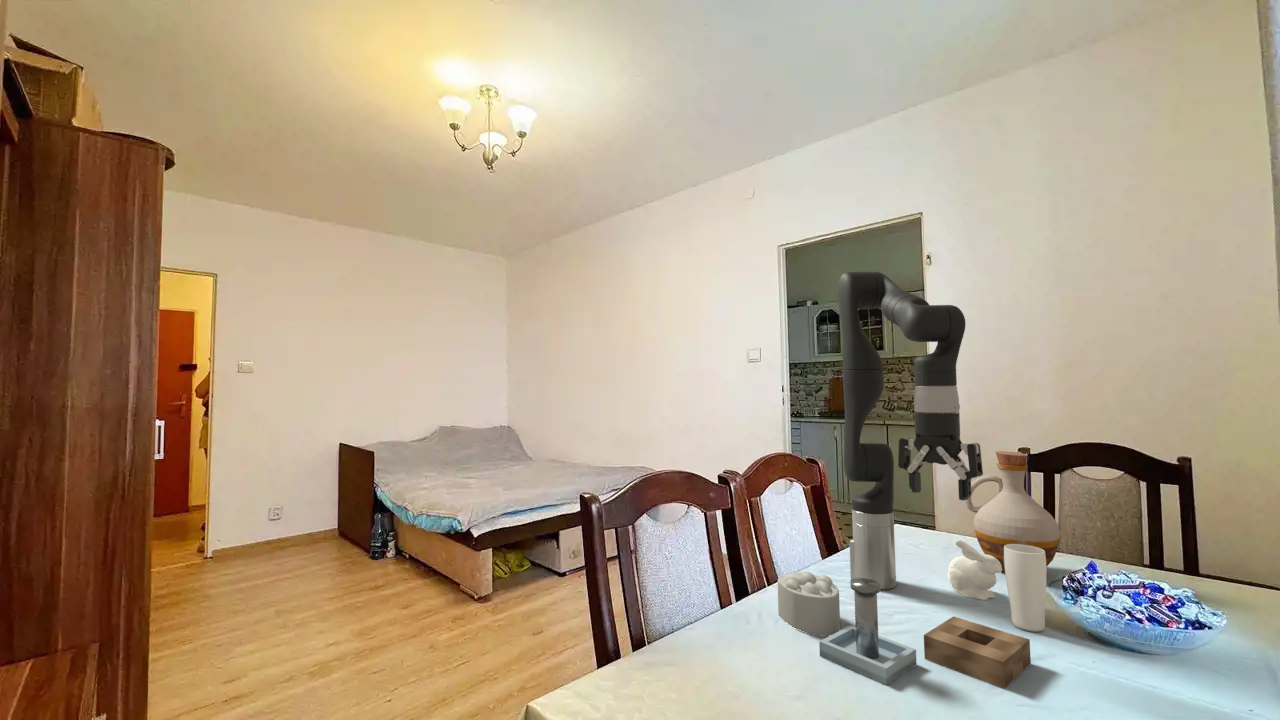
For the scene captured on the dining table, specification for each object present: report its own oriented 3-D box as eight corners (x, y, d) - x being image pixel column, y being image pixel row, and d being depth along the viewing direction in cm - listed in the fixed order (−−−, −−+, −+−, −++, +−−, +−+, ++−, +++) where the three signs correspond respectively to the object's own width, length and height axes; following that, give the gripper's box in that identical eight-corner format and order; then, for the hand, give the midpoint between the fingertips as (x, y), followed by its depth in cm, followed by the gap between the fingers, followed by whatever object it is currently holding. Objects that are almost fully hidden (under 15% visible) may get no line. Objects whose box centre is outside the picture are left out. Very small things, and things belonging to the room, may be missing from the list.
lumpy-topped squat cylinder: (815, 606, 116) (814, 565, 116) (854, 632, 103) (852, 586, 103) (772, 612, 113) (770, 570, 113) (806, 639, 100) (805, 592, 101)
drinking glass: (1057, 636, 100) (1053, 554, 101) (1017, 633, 102) (1013, 552, 103) (1038, 620, 107) (1034, 544, 108) (1000, 618, 108) (997, 542, 109)
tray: (819, 655, 94) (819, 641, 94) (850, 639, 100) (850, 625, 100) (886, 685, 85) (886, 668, 85) (916, 664, 91) (915, 649, 91)
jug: (965, 574, 134) (959, 453, 135) (970, 555, 148) (965, 446, 150) (1065, 590, 123) (1057, 458, 124) (1059, 568, 137) (1053, 450, 139)
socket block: (924, 658, 93) (923, 634, 93) (954, 638, 100) (953, 616, 100) (1004, 688, 83) (1003, 662, 83) (1030, 663, 91) (1029, 639, 91)
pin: (847, 653, 93) (844, 582, 94) (862, 645, 96) (859, 576, 96) (873, 664, 89) (871, 589, 90) (888, 655, 92) (885, 583, 93)
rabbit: (1008, 601, 117) (1006, 545, 118) (974, 606, 115) (971, 549, 115) (962, 582, 129) (959, 531, 129) (929, 586, 126) (927, 534, 127)
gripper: (889, 409, 105) (892, 492, 105) (968, 412, 94) (972, 505, 93) (908, 407, 110) (911, 487, 109) (986, 410, 98) (989, 499, 98)
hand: (939, 495), depth 101 cm, fingers open, 8 cm apart
